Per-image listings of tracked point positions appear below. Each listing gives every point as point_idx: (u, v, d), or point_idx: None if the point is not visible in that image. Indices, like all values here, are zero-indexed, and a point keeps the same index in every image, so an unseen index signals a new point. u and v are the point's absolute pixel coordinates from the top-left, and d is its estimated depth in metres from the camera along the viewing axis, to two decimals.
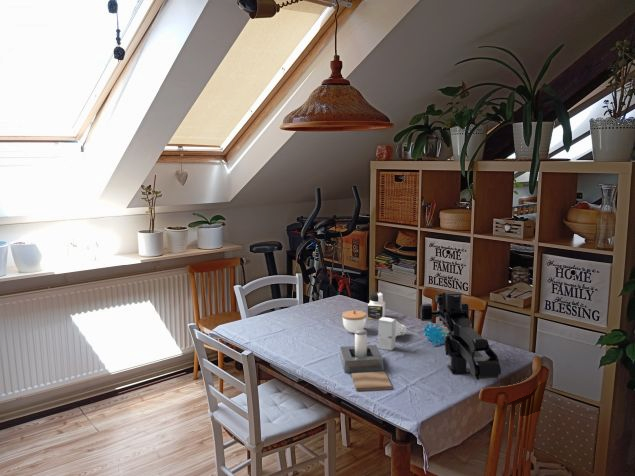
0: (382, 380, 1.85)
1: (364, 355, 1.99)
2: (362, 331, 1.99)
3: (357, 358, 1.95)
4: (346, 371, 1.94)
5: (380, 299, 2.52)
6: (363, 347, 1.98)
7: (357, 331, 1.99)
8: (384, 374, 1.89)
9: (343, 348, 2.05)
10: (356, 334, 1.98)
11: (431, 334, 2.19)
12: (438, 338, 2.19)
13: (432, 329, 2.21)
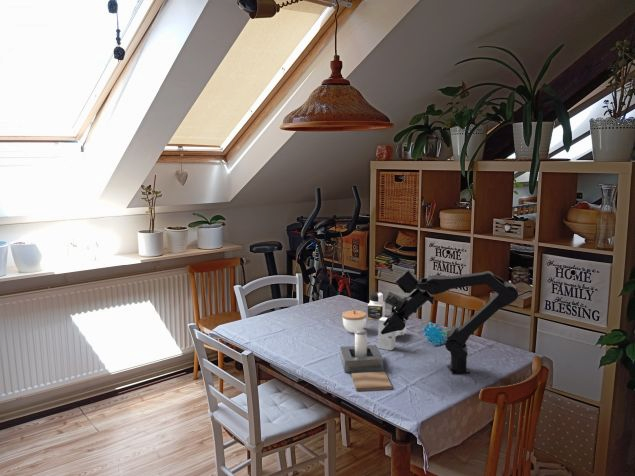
0: (382, 380, 1.85)
1: (364, 355, 1.99)
2: (362, 331, 1.99)
3: (357, 358, 1.95)
4: (346, 371, 1.94)
5: (380, 299, 2.52)
6: (363, 347, 1.98)
7: (357, 331, 1.99)
8: (384, 374, 1.89)
9: (343, 348, 2.05)
10: (356, 334, 1.98)
11: (431, 334, 2.20)
12: (438, 338, 2.20)
13: (432, 329, 2.21)
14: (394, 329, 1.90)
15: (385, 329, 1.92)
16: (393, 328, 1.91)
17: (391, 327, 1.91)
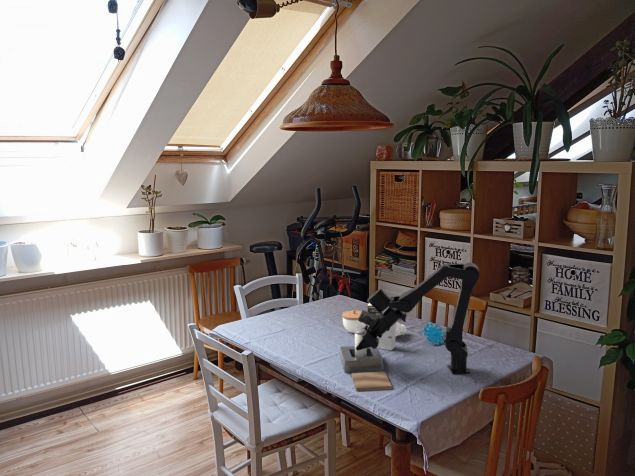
0: (382, 380, 1.85)
1: (364, 355, 1.99)
2: (362, 331, 1.99)
3: (357, 358, 1.95)
4: (346, 371, 1.94)
5: None
6: None
7: (357, 331, 1.99)
8: (384, 374, 1.89)
9: (343, 348, 2.05)
10: (356, 334, 1.98)
11: (430, 333, 2.20)
12: (437, 338, 2.20)
13: (432, 329, 2.22)
14: (368, 345, 1.95)
15: (360, 345, 1.97)
16: (367, 344, 1.95)
17: (365, 343, 1.96)
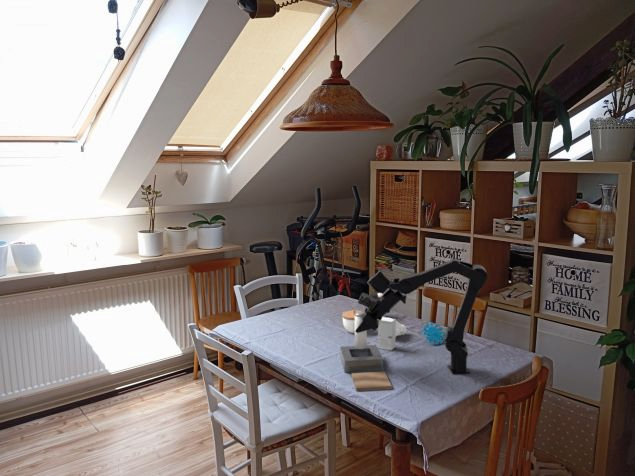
0: (382, 380, 1.85)
1: (364, 338, 1.98)
2: (362, 313, 1.97)
3: (357, 358, 1.95)
4: (346, 371, 1.94)
5: None
6: None
7: (357, 313, 1.98)
8: (384, 374, 1.89)
9: (343, 348, 2.05)
10: (356, 316, 1.97)
11: (430, 333, 2.20)
12: (437, 337, 2.20)
13: (431, 328, 2.22)
14: (368, 327, 1.94)
15: (359, 327, 1.96)
16: (367, 326, 1.94)
17: (365, 325, 1.95)
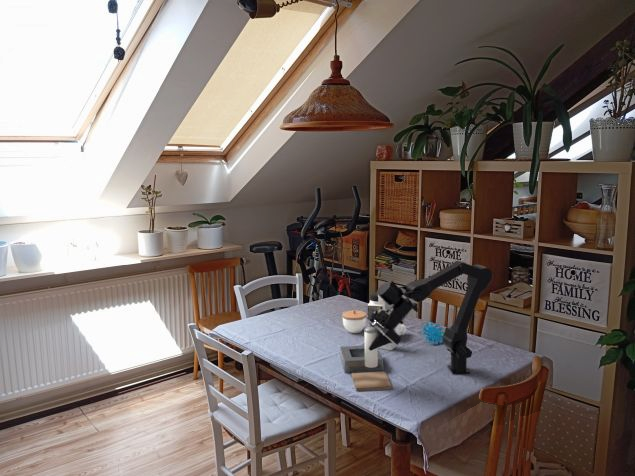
0: (382, 380, 1.85)
1: (376, 354, 1.83)
2: (373, 329, 1.82)
3: (357, 358, 1.95)
4: (346, 371, 1.94)
5: (380, 299, 2.52)
6: None
7: (368, 329, 1.81)
8: (384, 374, 1.89)
9: (343, 348, 2.05)
10: (368, 333, 1.81)
11: (430, 333, 2.21)
12: (437, 337, 2.20)
13: (431, 328, 2.22)
14: (384, 342, 1.80)
15: (374, 344, 1.80)
16: (383, 342, 1.80)
17: (381, 341, 1.80)
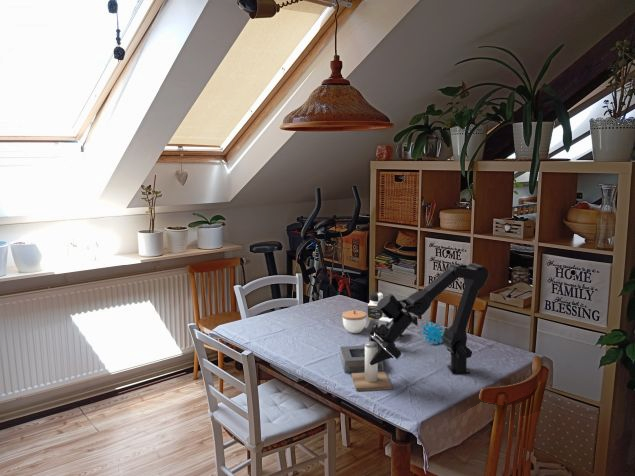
0: (382, 380, 1.85)
1: (376, 369, 1.84)
2: (373, 343, 1.83)
3: (357, 358, 1.95)
4: (346, 371, 1.94)
5: (380, 299, 2.52)
6: None
7: (368, 344, 1.82)
8: (384, 374, 1.89)
9: (343, 348, 2.05)
10: (369, 348, 1.82)
11: (429, 333, 2.21)
12: (436, 337, 2.20)
13: (431, 328, 2.23)
14: (385, 357, 1.80)
15: (375, 359, 1.80)
16: (384, 356, 1.80)
17: (382, 356, 1.80)
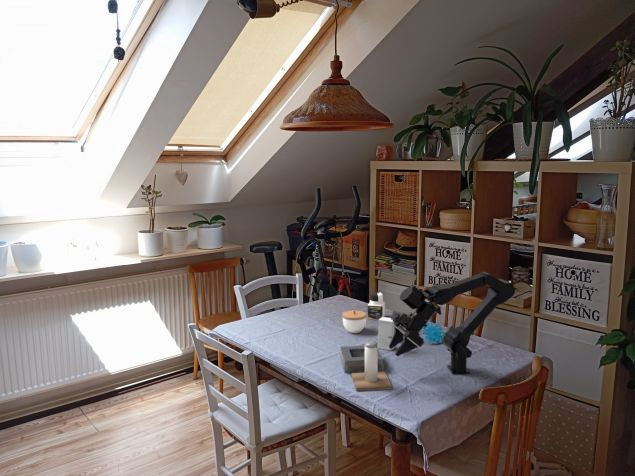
0: (382, 380, 1.85)
1: (376, 369, 1.84)
2: (373, 343, 1.83)
3: (357, 358, 1.95)
4: (346, 371, 1.94)
5: (380, 299, 2.52)
6: (376, 360, 1.83)
7: (368, 344, 1.82)
8: (384, 374, 1.89)
9: (343, 348, 2.05)
10: (368, 348, 1.82)
11: (429, 332, 2.21)
12: (436, 337, 2.21)
13: (431, 328, 2.23)
14: (411, 348, 1.81)
15: (401, 350, 1.81)
16: (409, 347, 1.81)
17: (407, 346, 1.81)
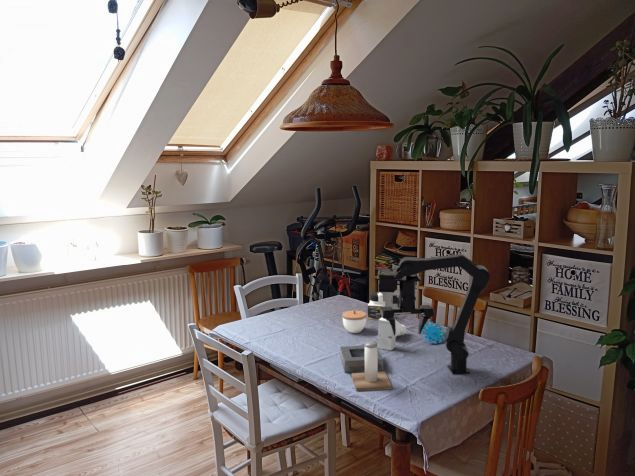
0: (382, 380, 1.85)
1: (376, 369, 1.84)
2: (373, 343, 1.83)
3: (357, 358, 1.95)
4: (346, 371, 1.94)
5: (380, 299, 2.52)
6: (376, 360, 1.83)
7: (368, 344, 1.82)
8: (384, 374, 1.89)
9: (343, 348, 2.05)
10: (368, 348, 1.82)
11: (429, 332, 2.21)
12: (436, 337, 2.21)
13: (431, 327, 2.23)
14: (390, 323, 1.91)
15: None
16: None
17: None
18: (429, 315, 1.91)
